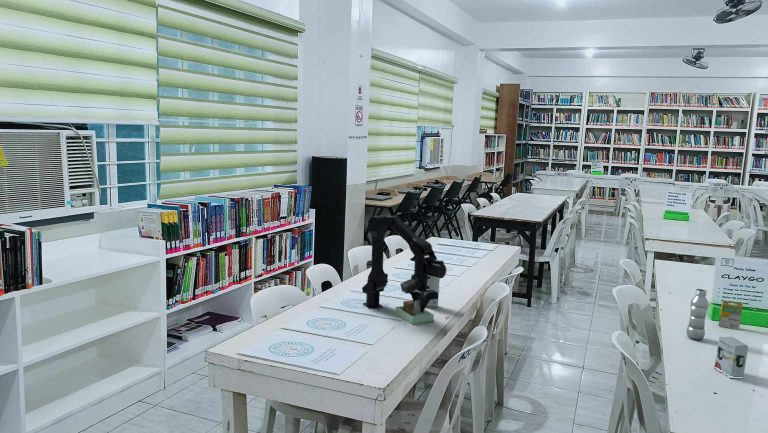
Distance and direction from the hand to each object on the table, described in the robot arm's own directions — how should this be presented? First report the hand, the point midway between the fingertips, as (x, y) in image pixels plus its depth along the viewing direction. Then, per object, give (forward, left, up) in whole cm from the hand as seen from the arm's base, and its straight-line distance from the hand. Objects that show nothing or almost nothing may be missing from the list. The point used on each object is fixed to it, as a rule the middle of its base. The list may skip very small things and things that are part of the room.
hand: (418, 310), depth 235 cm
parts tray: (-3, 0, -4) cm, 5 cm away
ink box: (+85, +72, -4) cm, 111 cm away
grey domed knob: (0, 0, -1) cm, 1 cm away
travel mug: (-13, +15, -4) cm, 21 cm away
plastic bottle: (+59, +93, -4) cm, 110 cm away
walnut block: (-7, 0, -4) cm, 8 cm away
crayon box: (+56, +121, -4) cm, 133 cm away
